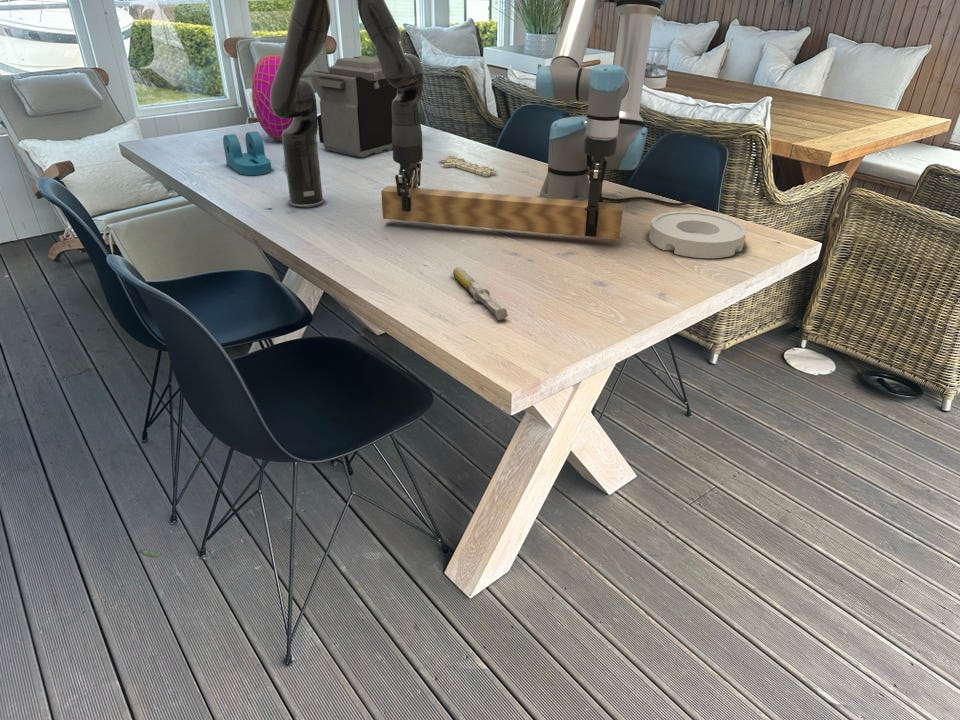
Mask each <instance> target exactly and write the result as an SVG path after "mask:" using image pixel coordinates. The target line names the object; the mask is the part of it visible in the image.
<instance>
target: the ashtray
mask: <svg viewBox="0 0 960 720" xmlns="http://www.w3.org/2000/svg"><path fill="white" fill-rule="evenodd" d="M746 236H747V230H746V227H745V226H744V225H743V224H741V223H740V222H738V221H737V220H734V219H732V218H730V217H726V216H724V215H719V214H714V213H709V212H702V211H691V210H690V211H689V210H685V211H683V210H681V211H679V210H677V211H670V212H664V213H660V214H657V215H656V216H653V218H652V219H651V221H650V226H649V235H648V237H649V238H648V239H649V241H650V242H651V244H652V245H654V246H655V247H657V248H658V249H660V250H663V251H673V252H674V255H677V256H682V257H688V258H689V257H690V258H697V259H721V258H726V257H727V258H729V257H732V256H734V255H735V254H736V253H740V252H742V251H743V248H744V245H745V239H746Z"/></svg>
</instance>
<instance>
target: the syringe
mask: <svg viewBox="0 0 960 720" xmlns="http://www.w3.org/2000/svg"><path fill="white" fill-rule="evenodd" d="M452 274H453V277H454V279H455V280H457V281H458V282H459V283H460V285H462V287H464V289H466V290H467V291H468V293H470V295H471V296H472V298H473V300H474V302H477V303H478V302H480V303H482V304H483V305H484V306H485V307H486V308H487V309H488V310H489V311H490V312H491V313H492V314H493V315H494V316H495V317H496V320H497V321H503V320H504V319H506V318H507V317H509V314H508V310H507V308H506V307H502V306H501V305H500V303H498V302H497V301H496V300H494V299H493V298H492V297H491V296H490V295H491V293H490V290H488V289H486V288H483V287H482V286H481V285H480V284H479V283H478V282H477V281H476V280H474V278H473V277H471V275H469V274H468V273H467V272H466V270H465V269H464V268H463V267H462V266H456V267H454V268H453V271H452Z"/></svg>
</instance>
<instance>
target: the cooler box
mask: <svg viewBox="0 0 960 720" xmlns="http://www.w3.org/2000/svg"><path fill="white" fill-rule="evenodd" d="M310 79H311V86H312V88H313V90H314V92H315V94H317V96H318V98H319V110H320V111H319V112H320V114H319V115H317V122H318V138H319V143H320V144H323V146H324V149H325V150H327V151H330V152H335V153H340V154H344V155H348V156H353V157H357V158H362V159H363V158H366V157H367V158H368V157H369V155H371V154H375V155H377V154H381V153H382V152H383V151H391V150H393V147H392V101H393V100H394V99H395V97H396V95H397V88H395V87H393V86H392V85H391V84H390V83H389V82H388V81H387V79H386V78H385V76H384V74H383V72H382V69H381V66H380V63H379V60H378V57H377V56H367V55H356V56H353V57H350V58H349V57H343V58H342V57H341V58H337V59H336V60H335V63H334V64H333V65H330V66H329V67H328V72H327V71H320V70H314V71H313V70H312V71H310Z"/></svg>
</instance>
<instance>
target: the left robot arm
mask: <svg viewBox="0 0 960 720" xmlns="http://www.w3.org/2000/svg"><path fill="white" fill-rule="evenodd" d="M293 2H294V3H293V6H292V8H291V9H292V10H291V13H290V18H289V23H288V28H287V33H286V37H285V42H284V45H283V49H282V53H281V56H282V57H281V60H280V64H279V67H278V69H277V72H276V75H275V78H274V81H273V84H272V87H271V91H270V104H271V108H272V110H273V112H274V114H275V115H276V116H278V117H280V118H284V119H287V118H293V121H292V123H291V125H290V126H289V127H288V128H287V129H285V130H284V131H283V132H282V141H281V142H282V149H283V150H282V151H283V157H284V162H285V164H284V165H285V171H286V179H287V180H286V181H287V186H288V187H287V188H288V195H289V204H290V206H292V207H296V208H303V209H305V208H307V209H308V208H314V207H315V208H316V207H319V206H321V205H322V204H324V196H323V187H322V179H321V177H322V175H321V168H320V167H321V166H320V159H319V150H318V141H317V135H318V132H319V130H318V120H317V117H318V105H317V98H316V97H317V96H316V92H315V89H314V88H313V86H312V83H310V82H309V81H308V80H306V79H303V78H302V77H303V75H304V73H305V72H306V71H307V69H308V68H309V66H310V65H311V64H312V63H313V62H314V61H315V59H316V58H317V57H318V56H319V54H320V53H321V51H322V50H323V48H324V46H325V44H326V40H327V38H328V33H329V28H330V26H331V19H332V16H331V7H330V3H329V0H294V1H293ZM356 6H357V12H358V15H359V19H360V22H361V24H362V26H363V28H364V30H365V32H366V34H367V36H368V37H369V39H370V41H371V43H372V45H373V47H374V48H375V52H376V53H375V54H376V57H377V58H378V60H379V63H380V66H381V69H382V72H383V74H384V76H385V78H386V79H387V81H388V82H389V83H390V84H391V85H392V86H393V87H395V88H397V95H396V97H395V99H394V100H393V101H392V147H393V149H392V160H393V161H394V162H395V163H397V164H399V169H398V174H395V178H394V179H395V186H397V193H398V197H402V210H403V211H406V212H409V211H411V197H410V196H411V189H412V188H419V187H420V186H421V178H422V177H421V175H422V161H423V159H424V154H423V153H424V152H423V151H424V149H423V130H422V123H421V122H422V121H421V120H422V119H421V100H422V94H423V89H424V88H423V87H424V80H425V79H424V77H425V75H424V67H423V64H422V62H421V60H420V58H419V57H418V56H416V55H415V54H412V53H405V54H404V52H403V49H402V46H401V44H400V42H401V41H402V33H401V30H400V28H399V26H398V24H397V22H396V20H395V18H394V16H393V15H392V13H391V11H390V9H389V7H388V5H387V2H386V1H385V0H356ZM404 191H405V192H404Z"/></svg>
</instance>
